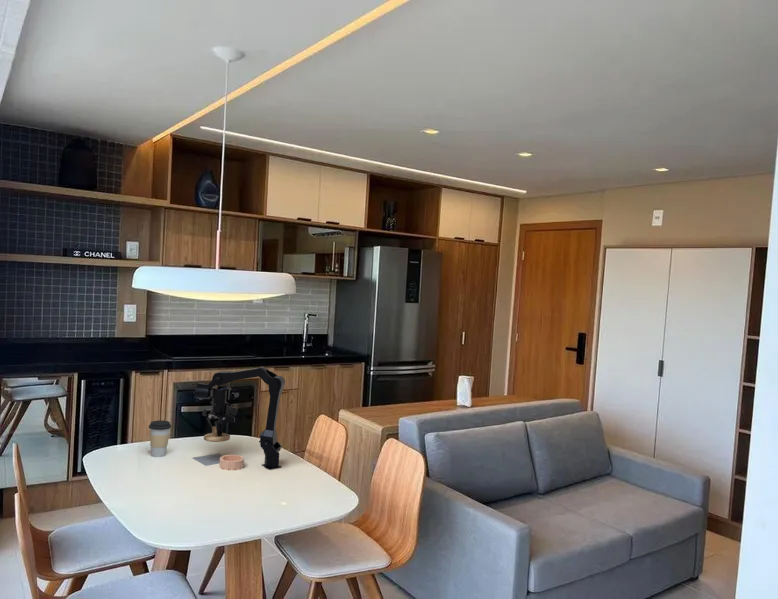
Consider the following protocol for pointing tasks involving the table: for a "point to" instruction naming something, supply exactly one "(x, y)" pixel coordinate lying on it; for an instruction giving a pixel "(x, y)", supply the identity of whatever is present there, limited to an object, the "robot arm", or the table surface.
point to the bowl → (231, 462)
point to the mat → (208, 459)
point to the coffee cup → (159, 437)
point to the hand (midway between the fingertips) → (217, 435)
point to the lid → (216, 436)
